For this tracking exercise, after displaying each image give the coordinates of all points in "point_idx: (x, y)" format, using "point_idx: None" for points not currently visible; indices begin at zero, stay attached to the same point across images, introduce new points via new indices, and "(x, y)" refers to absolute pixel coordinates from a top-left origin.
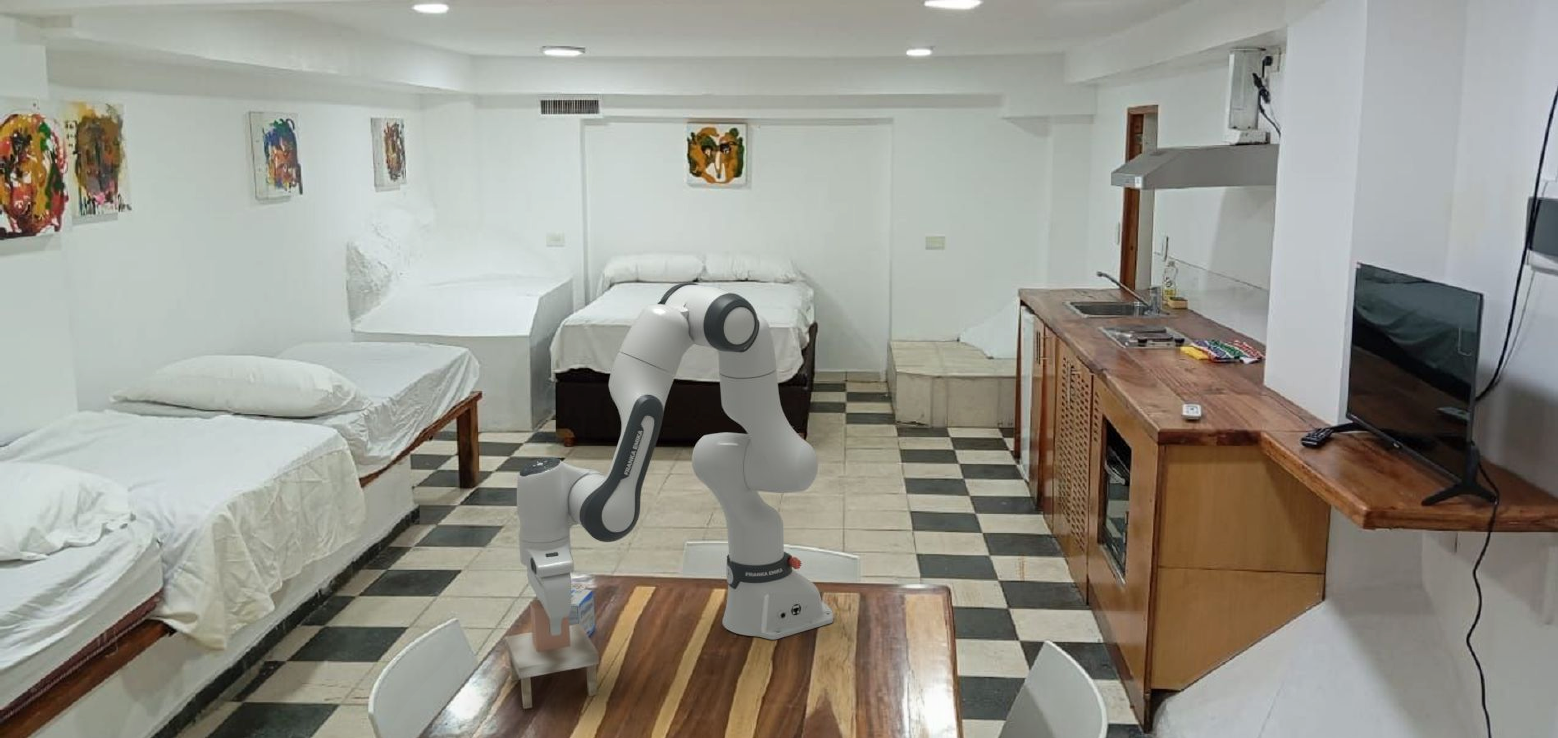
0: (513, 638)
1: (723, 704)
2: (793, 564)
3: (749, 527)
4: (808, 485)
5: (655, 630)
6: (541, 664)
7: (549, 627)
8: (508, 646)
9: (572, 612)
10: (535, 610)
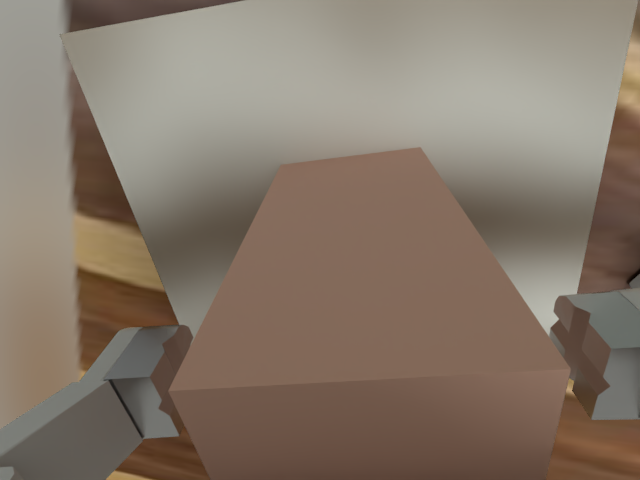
0: (573, 9)
1: (168, 474)
2: None
3: None
4: None
5: (597, 447)
6: (118, 176)
7: (158, 350)
8: None
9: None
10: (175, 390)
